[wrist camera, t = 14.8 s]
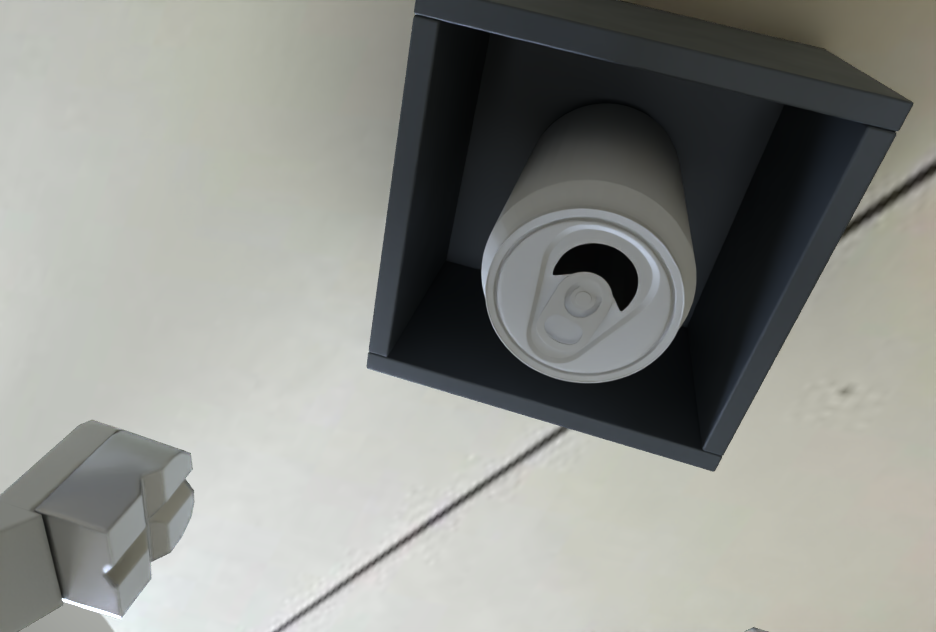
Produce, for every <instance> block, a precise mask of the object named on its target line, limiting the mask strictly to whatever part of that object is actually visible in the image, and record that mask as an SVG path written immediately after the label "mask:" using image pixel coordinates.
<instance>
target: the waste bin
mask: <svg viewBox="0 0 936 632" xmlns="http://www.w3.org/2000/svg"><path fill="white" fill-rule="evenodd" d="M414 13H415V14H416V15H415V16H414V18H413V25H412V33H411V40H410V48H409V55H408V62H407V70H406V77H405V85H404V92H403V99H402V107H401V114H400V122H399V129H398V137H397V144H396V151H395V159H394V166H393V174H392V181H391V189H390V196H389V203H388V211H387V218H386V226H385V233H384V241H383V248H382V255H381V263H380V270H379V278H378V285H377V292H376V300H375V307H374V315H373V322H372V330H371V337H370V344H369V353H368V359H367V368H368V369H371V370H374V371H377V372H381V373H384V374H388V375H391V376H394V377H398V378H401V379H404V380H408V381H411V382H414V383H418V384H421V385H424V386H428V387H431V388H435V389H438V390H441V391H445V392H448V393H451V394H455V395H458V396H461V397H465V398H468V399H471V400H475V401H478V402H482V403H485V404H488V405H492V406H495V407H498V408H502V409H505V410H508V411H512V412H515V413H518V414H522V415H525V416H529V417H532V418H535V419H539V420H542V421H545V422H549V423H552V424H555V425H559V426H562V427H565V428H569V429H572V430H576V431H579V432H582V433H586V434H589V435H592V436H596V437H599V438H602V439H606V440H609V441H612V442H616V443H619V444H623V445H626V446H629V447H633V448H636V449H639V450H643V451H646V452H649V453H653V454H656V455H659V456H663V457H666V458H670V459H673V460H676V461H680V462H683V463H686V464H690V465H693V466H696V467H700V468H703V469H706V470H710V471H715V470H716V468H717V466H718V464H719V462H720V460H721V459H722V455H724V453H725V451H726V449H727V447H728V445H729V444H730V442H731V440H732V438H733V436H734V434H735V432H736V431H737V429H738V427H739V425H740V423H741V421H742V419H743V418H744V416H745V414H746V412H747V410H748V408H749V407H750V405H751V403H752V401H753V399H754V397H755V395H756V394H757V392H758V390H759V388H760V386H761V384H762V382H763V381H764V379H765V377H766V375H767V373H768V371H769V370H770V368H771V366H772V364H773V362H774V360H775V358H776V357H777V355H778V353H779V351H780V349H781V347H782V345H783V344H784V342H785V340H786V338H787V336H788V334H789V333H790V331H791V329H792V327H793V325H794V323H795V321H796V320H797V318H798V316H799V314H800V312H801V310H802V309H803V307H804V305H805V303H806V301H807V299H808V297H809V296H810V294H811V292H812V290H813V288H814V286H815V284H816V283H817V281H818V279H819V277H820V275H821V273H822V272H823V270H824V268H825V266H826V264H827V262H828V260H829V259H830V257H831V255H832V253H833V251H834V249H835V247H836V246H837V244H838V242H839V240H840V238H841V236H842V235H843V233H844V231H845V229H846V227H847V225H848V223H849V222H850V220H851V218H852V216H853V214H854V212H855V210H856V209H857V207H858V205H859V203H860V201H861V199H862V198H863V196H864V194H865V192H866V190H867V188H868V186H869V185H870V183H871V181H872V179H873V177H874V175H875V173H876V172H877V170H878V168H879V166H880V164H881V162H882V161H883V159H884V157H885V155H886V153H887V151H888V149H889V148H890V146H891V144H892V142H893V140H894V138H895V136H896V132H895V131H899V130H900V128H901V126H902V124H903V122H904V121H905V119H906V117H907V115H908V113H909V111H910V109H911V108H912V106H913V102H912V101H910V100H908V99H907V98H905V97H903V96H902V95H900V94H898V93H897V92H895V91H893V90H892V89H890V88H888V87H887V86H885V85H883V84H882V83H880V82H878V81H877V80H875V79H874V78H872V77H870V76H869V75H867V74H865V73H864V72H862V71H860V70H859V69H857V68H855V67H854V66H852V65H850V64H849V63H847V62H845V61H844V60H842V59H840V58H839V57H837V56H835V55H834V54H832V53H830V52H829V51H827V50H826V49H823V48H819V47H815V46H811V45H806V44H802V43H798V42H794V41H789V40H785V39H781V38H777V37H772V36H768V35H764V34H760V33H755V32H751V31H747V30H743V29H738V28H734V27H730V26H726V25H721V24H717V23H713V22H708V21H704V20H700V19H696V18H691V17H687V16H683V15H679V14H674V13H670V12H666V11H662V10H657V9H653V8H649V7H645V6H640V5H636V4H632V3H628V2H623V1H619V0H416V2H415V9H414ZM602 103H609V104H619V105H624V106H628V107H631V108H634V109H636V110H638V111H640V112H643V113H644V114H646V115H648V116H649V117H651V118H652V119H653V120H654V121H656V122H657V123H658V124H659V125H660V126H661V127H662V128H663V129H664V131H665V132H666V133H667V135H668V136H669V138H670V140H671V142H672V144H673V145H674V147H675V149H676V152H677V155H678V159H679V164H680V170H681V176H682V183H683V189H684V195H685V201H686V208H687V214H688V220H689V226H690V233H691V239H692V245H693V252H694V258H695V264H696V290H695V295H694V299H693V303H692V305H691V308H690V311H689V313H688V315H687V317H686V319H685V321H684V322H683V324H682V325H681V327H680V328H679V330H678V332H677V334H676V336H675V338H674V339H673V341H672V342H671V344H670V345H669V346H668V348H667V349H666V350H665V351H664V352H663V353H662V354H661V355H660V356H659V357H658V358H657V359H656V360H655V361H653V362H652V363H651V364H649V365H648V366H646V367H645V368H643V369H641V370H639V371H638V372H636V373H633V374H631V375H629V376H626V377H623V378H620V379H616V380H612V381H607V382H600V383H577V382H569V381H564V380H560V379H556V378H553V377H550V376H547V375H545V374H543V373H540V372H538V371H536V370H534V369H532V368H531V367H529V366H528V365H526V364H525V363H523V362H522V361H520V360H519V359H518V358H517V357H516V356H514V355H513V354H512V353H511V352H510V351H509V350H508V348H507V347H506V346H505V345H504V344H503V342H502V341H501V340H500V338H499V337H498V335H497V334H496V332H495V330H494V328H493V326H492V324H491V321H490V318H489V315H488V312H487V307H486V301H485V296H484V292H483V287H482V276H481V269H482V259H483V254H484V250H485V247H486V244H487V241H488V239H489V236H490V234H491V232H492V230H493V228H494V226H495V224H496V222H497V220H498V218H499V216H500V214H501V212H502V210H503V208H504V206H505V204H506V203H507V201H508V199H509V197H510V195H511V193H512V191H513V189H514V187H515V185H516V183H517V181H518V179H519V177H520V175H521V173H522V171H523V169H524V167H525V165H526V163H527V161H528V159H529V157H530V155H531V153H532V151H533V149H534V147H535V145H536V144H537V142H538V140H539V139H540V137H541V136H542V134H543V133H544V132H545V131H546V130H547V129H548V128H549V127H550V126H551V125H552V124H553V123H554V122H555V121H557V120H558V119H559V118H561V117H562V116H564V115H565V114H567V113H569V112H571V111H573V110H575V109H578V108H581V107H584V106H588V105H593V104H602Z"/></svg>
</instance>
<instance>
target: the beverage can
mask: <svg viewBox="0 0 936 632" xmlns="http://www.w3.org/2000/svg"><path fill="white" fill-rule="evenodd" d="M481 276H482V287H483V292H484V296H485V301H486V307H487V312H488V315H489V318H490V321H491V324H492V326H493V328H494V330H495V332H496V334H497V335H498V337H499V338H500V340H501V341H502V342H503V344H504V345H505V346H506V347H507V348H508V350H509V351H510V352H511V353H512V354H513V355H514V356H516V357H517V358H518V359H519V360H520V361H522V362H523V363H525V364H526V365H528V366H529V367H531V368H532V369H534V370H536V371H538V372H540V373H543V374H545V375H547V376H550V377H553V378H556V379H560V380H564V381H569V382H577V383H600V382H607V381H612V380H616V379H620V378H623V377H626V376H629V375H631V374H633V373H636V372H638V371H639V370H641V369H643V368H645V367H646V366H648V365H649V364H651V363H652V362H653V361H655V360H656V359H657V358H658V357H659V356H660V355H661V354H662V353H663V352H664V351H665V350H666V349H667V348H668V346H669V345H670V344H671V342H672V341H673V339H674V338H675V336H676V334H677V332H678V330H679V328H680V327H681V325H682V324H683V322H684V321H685V319H686V317H687V315H688V313H689V311H690V308H691V305H692V303H693V299H694V295H695V290H696V264H695V258H694V252H693V245H692V239H691V233H690V226H689V220H688V214H687V208H686V201H685V195H684V189H683V183H682V176H681V170H680V164H679V159H678V155H677V152H676V149H675V147H674V145H673V144H672V142H671V140H670V138H669V136H668V135H667V133H666V132H665V131H664V129H663V128H662V127H661V126H660V125H659V124H658V123H657V122H656V121H654V120H653V119H652V118H651V117H649V116H648V115H646V114H644V113H643V112H640V111H638V110H636V109H634V108H631V107H628V106H624V105H619V104H609V103H602V104H593V105H588V106H584V107H581V108H578V109H575V110H573V111H571V112H569V113H567V114H565V115H564V116H562V117H561V118H559V119H558V120H557V121H555V122H554V123H553V124H552V125H551V126H550V127H549V128H548V129H547V130H546V131H545V132H544V133H543V134H542V136H541V137H540V139H539V140H538V142H537V144H536V145H535V147H534V149H533V151H532V153H531V155H530V157H529V159H528V161H527V163H526V165H525V167H524V169H523V171H522V173H521V175H520V177H519V179H518V181H517V183H516V185H515V187H514V189H513V191H512V193H511V195H510V197H509V199H508V201H507V203H506V204H505V206H504V208H503V210H502V212H501V214H500V216H499V218H498V220H497V222H496V224H495V226H494V228H493V230H492V232H491V234H490V236H489V239H488V241H487V244H486V247H485V250H484V254H483V259H482V269H481Z"/></svg>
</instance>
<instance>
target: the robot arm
mask: <svg viewBox="0 0 936 632" xmlns="http://www.w3.org/2000/svg"><path fill="white" fill-rule="evenodd" d="M192 470H193V468H192V459H191V453H189V452H186V451H184V450H181V449H178V448H175V447H172V446H169V445H166V444H163V443H160V442H157V441H155V440H152V439H149V438H146V437H143V436H140V435H137V434H134V433H131V432H128V431H125V430H122V429H119V428H116V427H113V426H110V425H107V424H104V423H101V422H98V421H95V420H90V421H88V422H85V423H83V424H80V425H79V426H77V427H76V428H75V429H74V430H73V431H72V432H71V433H69V434H68V435H67V436H66V437H65V438H64V439H63V440H62V441H60V442H59V443H58V444H57V445H56V446H55V447H54V448H53V449H51V450H50V451H49V452H48V453H47V454H46V455H45V456H43V457H42V458H41V459H40V460H39V461H38V462H37V463H36V464H34V465H33V466H32V467H31V468H30V469H29V470H28V471H27V472H25V473H24V474H23V475H22V476H21V477H20V478H19V479H18V480H16V481H15V482H14V483H13V484H12V485H11V486H10V487H9V488H7V489H6V490H5V491H4V492H3V493H2V494H1V495H0V632H19V631H20V630H22V629H23V628H25V627H27V626H29V625H30V624H32V623H34V622H36V621H37V620H39V619H40V618H42V617H44V616H46V615H47V614H49V613H51V612H52V611H54V610H56V609H58V608H59V607H61V606H62V605H63V601H65V602H68V603H71V604H74V605H78V606H81V607H84V608H88V609H91V610H94V611H97V612H100V613H104V614H107V615H110V616H113V617H117V618H120V619H121V618H122V617H123V615H124V614H125V613H126V611H127V610H128V609H129V607H130V606H131V605H132V603H133V602H134V601H135V599H136V598H137V597H138V595H139V594H140V593H141V591H142V590H143V589H144V588H145V586H146V585H147V584H148V582H149V581H150V580H151V562H152V561H154V560H156V559H158V558H160V557H163V556H165V555H167V554H169V553H171V551H172V550H173V549H174V547H175V546H176V544H177V543H178V542H179V540H180V539H181V537H182V536H183V534H184V532H185V529H186V527H187V525H188V523H189V521H190V519H191V516H192V511H193V506H194V490H193V489H192V487H191V486H190V485H189V483H188V482H187V481H186V479H185V478H186V477H187V476H188V475H189V473H190V472H191V471H192ZM745 632H768V631H765V630H761V629H758V628H755V627H753V628H751V629H748V630H746V631H745Z"/></svg>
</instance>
